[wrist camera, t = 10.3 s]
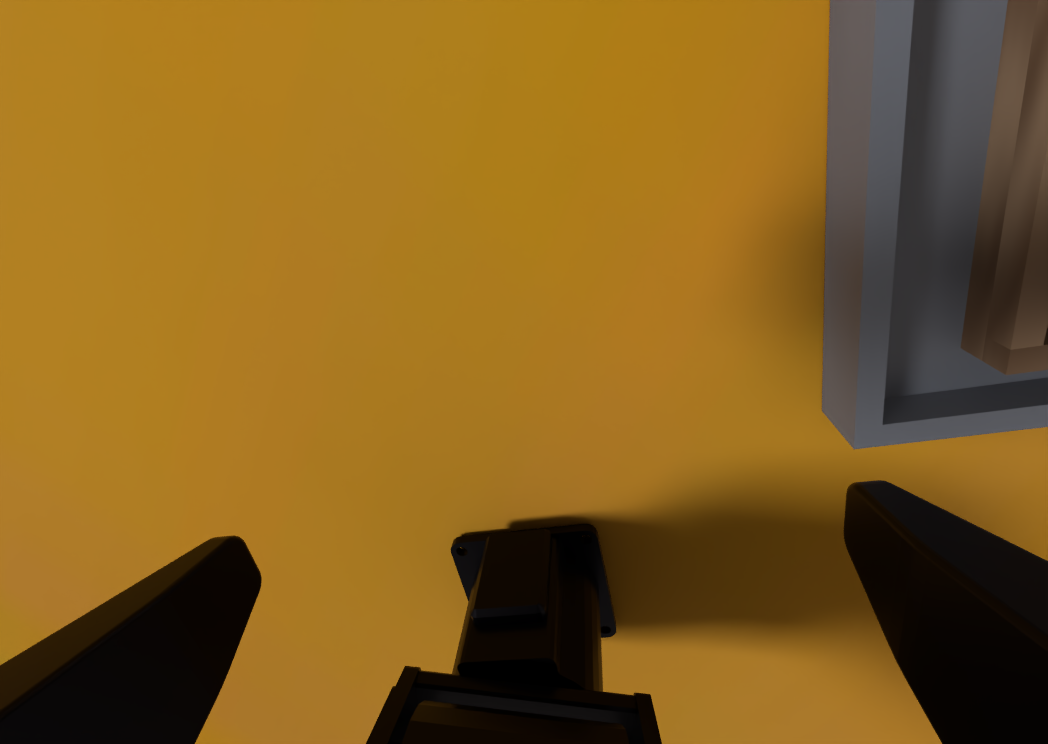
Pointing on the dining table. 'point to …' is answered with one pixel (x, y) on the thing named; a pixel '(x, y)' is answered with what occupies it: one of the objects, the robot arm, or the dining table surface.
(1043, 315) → the caddy
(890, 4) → the tray
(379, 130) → the dining table surface
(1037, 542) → the dining table surface
